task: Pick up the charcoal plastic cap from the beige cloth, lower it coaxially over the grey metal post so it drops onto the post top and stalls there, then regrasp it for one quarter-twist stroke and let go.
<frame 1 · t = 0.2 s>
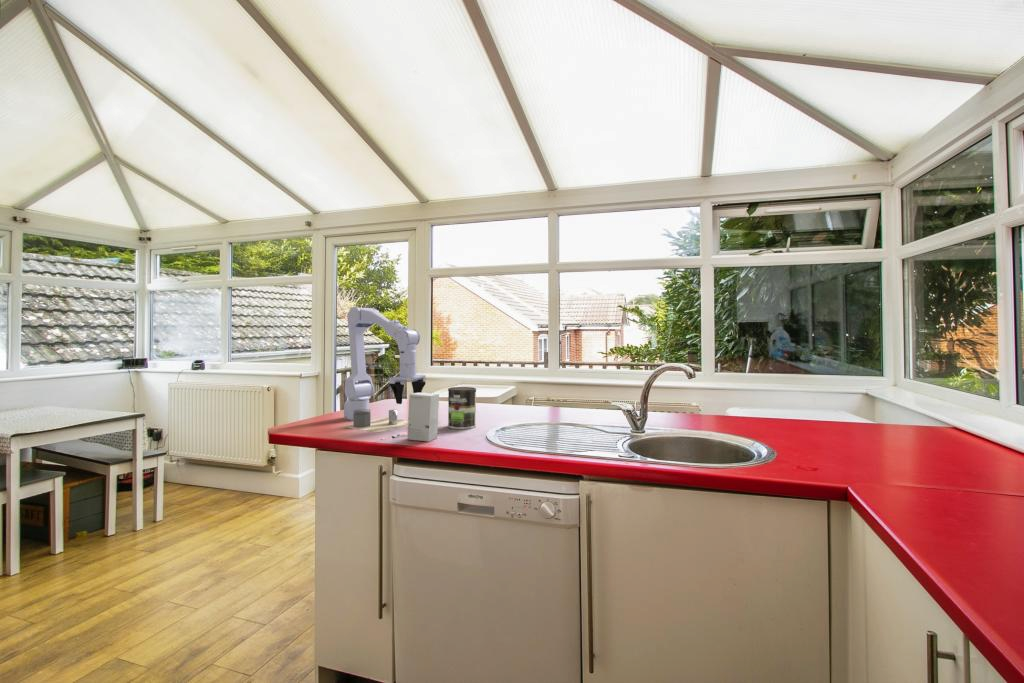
hand: (407, 402, 167), 10 cm above the worktop, fingers open, 7 cm apart
cap: (362, 425, 168), point 1 cm above the worktop, touching beige cloth
beige cloth: (381, 428, 170), on the worktop
coffee can: (462, 427, 174), on the worktop
skincare box: (423, 439, 154), on the worktop
post: (393, 428, 171), resting on beige cloth
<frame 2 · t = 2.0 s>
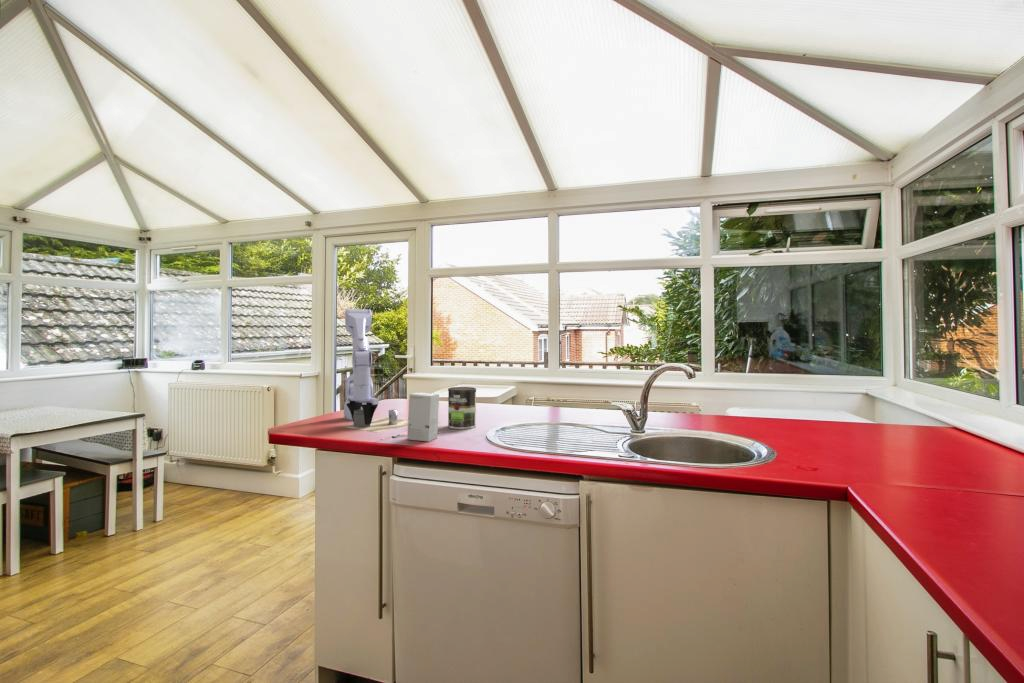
hand: (362, 423, 168), 2 cm above the worktop, fingers closed on cap, 6 cm apart
cap: (362, 425, 168), point 1 cm above the worktop, touching beige cloth, gripper
everything else where it was.
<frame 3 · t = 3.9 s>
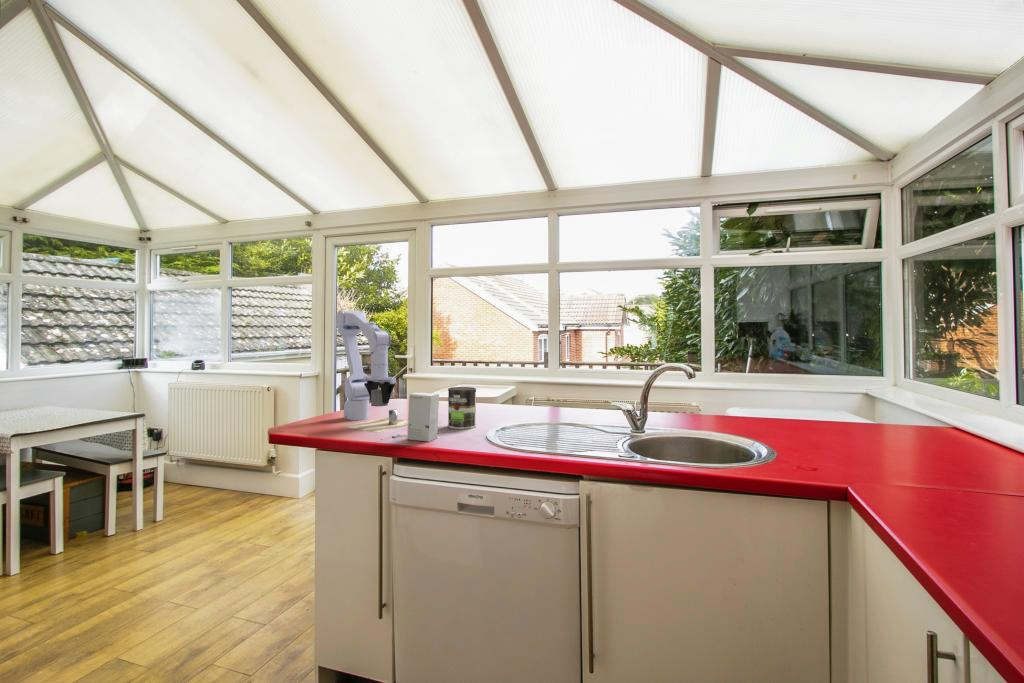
hand: (379, 402, 169), 9 cm above the worktop, fingers closed on cap, 6 cm apart
cap: (379, 405, 169), point 9 cm above the worktop, touching gripper
everything else where it was.
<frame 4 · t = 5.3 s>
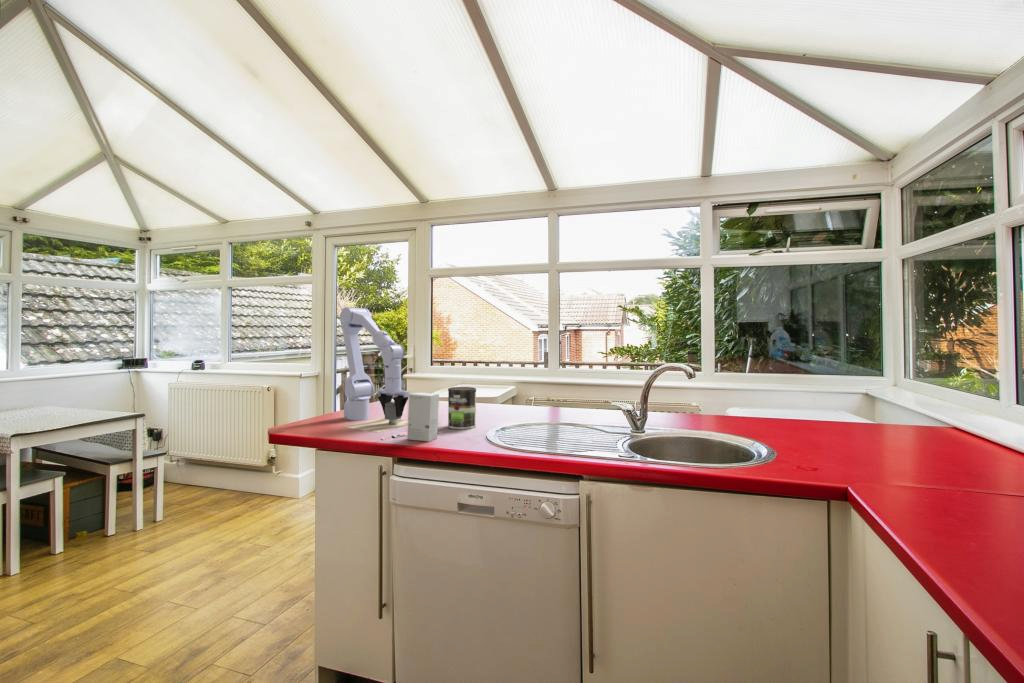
hand: (393, 415, 171), 5 cm above the worktop, fingers closed on cap, 6 cm apart
cap: (392, 418, 171), point 4 cm above the worktop, touching gripper
everything else where it was.
when the fingers open (4 cm above the worktop, at t = 6.1 s): cap stays where it is, resting on post.
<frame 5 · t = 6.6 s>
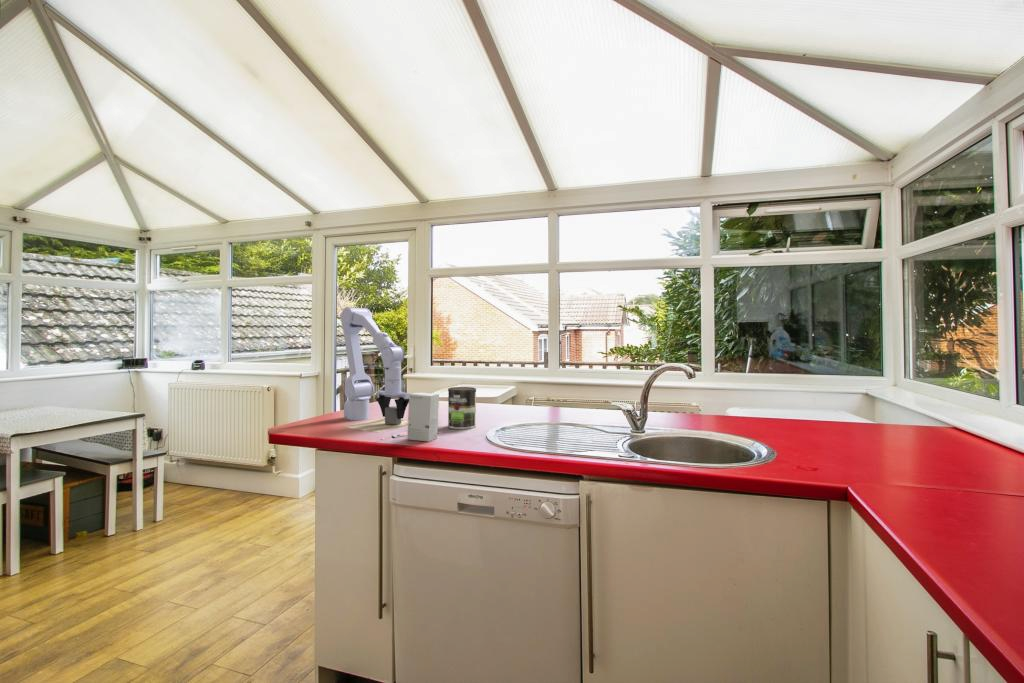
hand: (393, 417, 171), 4 cm above the worktop, fingers open, 7 cm apart
cap: (393, 422, 171), point 2 cm above the worktop, touching post
everything else where it was.
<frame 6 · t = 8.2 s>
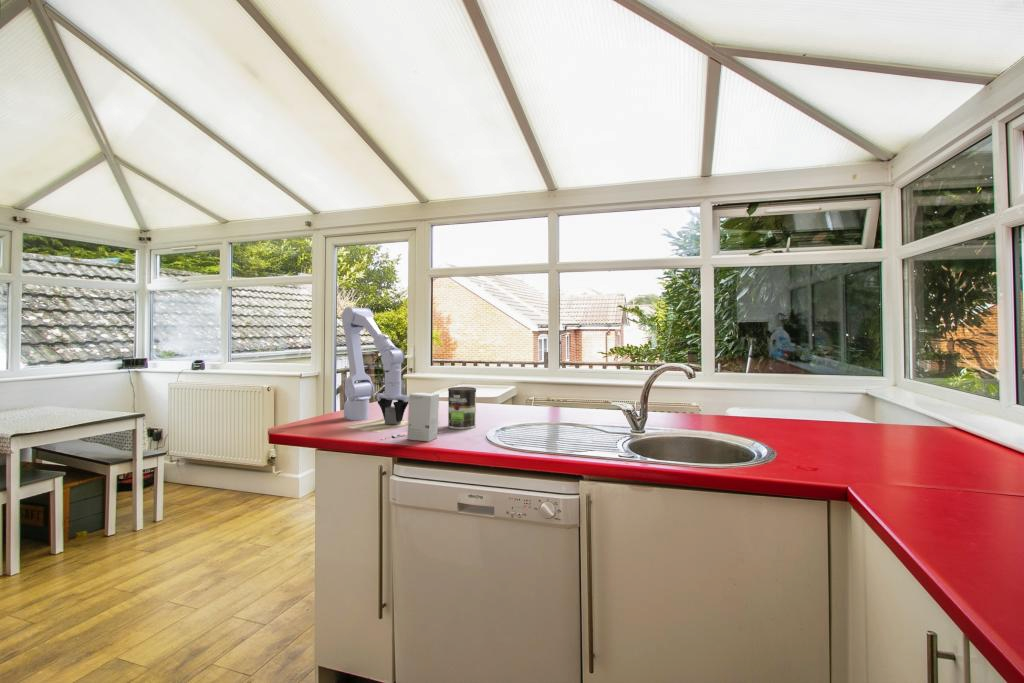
hand: (393, 420, 171), 3 cm above the worktop, fingers closed on cap, 6 cm apart
cap: (392, 422, 171), point 2 cm above the worktop, touching gripper, post
everything else where it was.
when the fingers open (3 cm above the worktop, at t = 9.7 s): cap stays where it is, resting on post.
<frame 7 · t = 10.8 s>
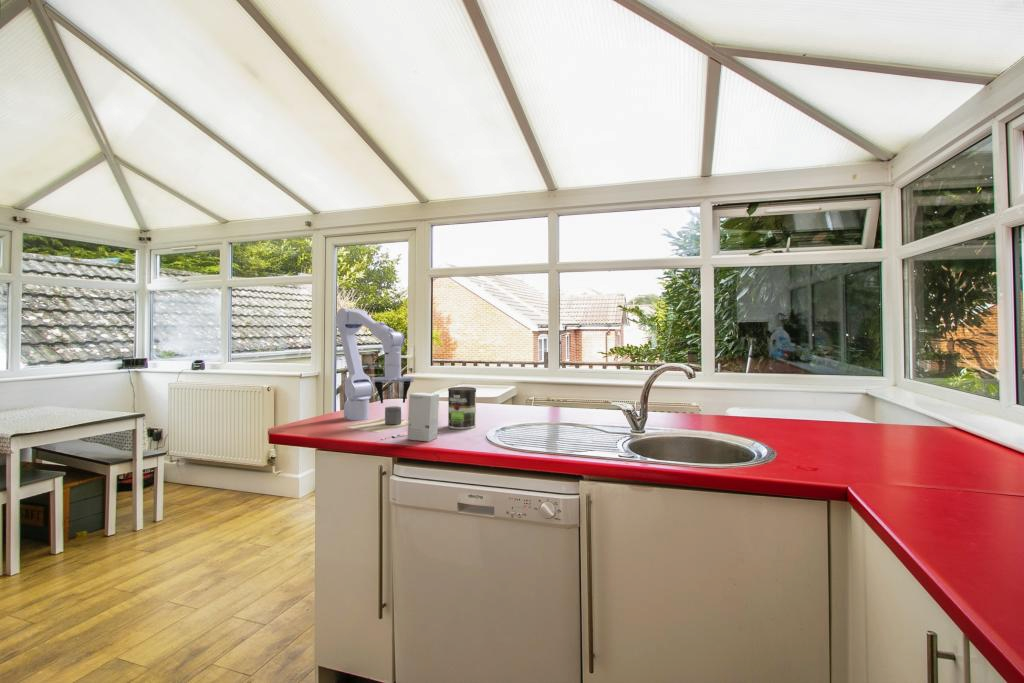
hand: (392, 402, 171), 9 cm above the worktop, fingers open, 7 cm apart
cap: (393, 422, 171), point 2 cm above the worktop, touching post
everything else where it was.
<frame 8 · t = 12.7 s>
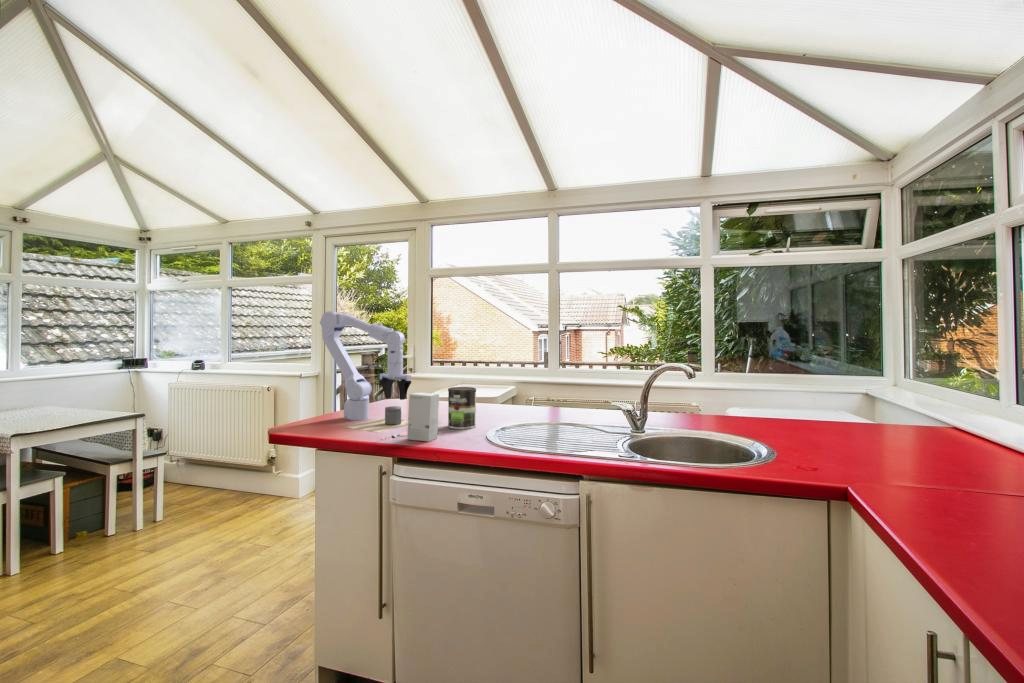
hand: (395, 398, 180), 9 cm above the worktop, fingers open, 7 cm apart
nothing on the worktop moved.
at the end: cap 0.1 cm off-centre on the post, point 2.0 cm above the post's base; cap tilted 0°; the gripper is holding nothing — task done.
